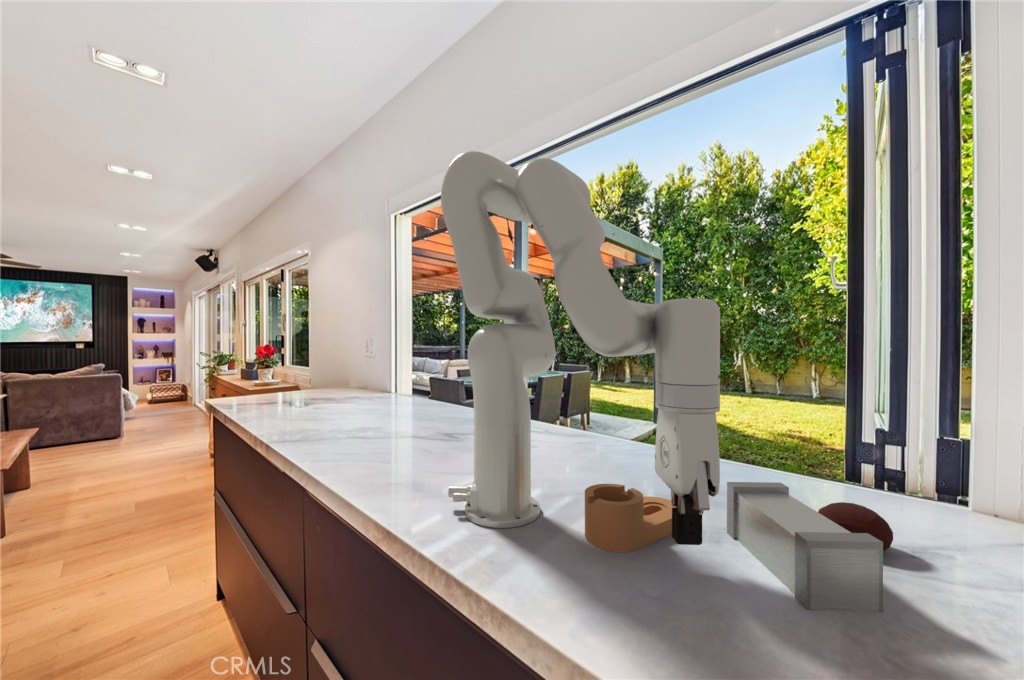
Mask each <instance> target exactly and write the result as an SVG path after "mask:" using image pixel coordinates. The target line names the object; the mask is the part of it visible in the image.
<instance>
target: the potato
mask: <svg viewBox="0 0 1024 680" xmlns="http://www.w3.org/2000/svg"><path fill="white" fill-rule="evenodd" d="M817 512H818V513H820V514H821V515H823V516H825V517H826V518H828V519H830V520H831V521H833V522H835V523H836V524H838V525H839V526H841V527H843V528H844V529H846V530H848V531H849V532H851V533H868V534H870V535H872V536H873V537H875V538H877V539H878V540H880V541H882V542H883V552H886V551H887V550H889V548H891V545H892V543H893V540H894V532H893V530H892V528H891V526H890V525H889V523H888V522H887V520H885V518H883V517H882V516H881V515H880V514H878V513H877V512H876V511H875V510H873V509H870V508H868V507H867V506H864V505H861V504H858V503H853V502H832V503H829V504H827V505H825V506H823V507H821V508H819V509H818V510H817Z"/></svg>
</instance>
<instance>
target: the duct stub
mask: <svg viewBox="0 0 1024 680" xmlns="http://www.w3.org/2000/svg"><path fill="white" fill-rule="evenodd" d="M726 533H727V535H729V537H731V539H733V540H736V541H737V542H738V543H740V544H741V545H742V546H743V547H744V548H745V549H746V550H747V551H748V552H749V553H750V554H751V555H752V556H753V557H754V558H755V559H756V560H757V561H758V562H759V563H761V564H762V565H763V566H764V567H765V568H766V570H768V571H769V572H770V573H771V574H772V575H773V576H774V577H775V578H776V579H778V580H779V582H781V583H782V585H784V586H785V587H786V588H787V589H788V590H789V591H790V592H791V593H792V594H793V595H794V600H796V602H798V603H799V604H800V605H801V606H802V607H803V608H804V609H805V610H806V611H835V612H867V613H870V612H871V613H883V612H884V551H883V542H882V541H880V540H878V539H877V538H875V537H873V536H872V535H870V534H868V533H851V532H849V531H848V530H846V529H844V528H843V527H841V526H839V525H838V524H836V523H835V522H833V521H831V520H830V519H828V518H826V517H825V516H823V515H821V514H820V513H818V511H817V510H815V509H813V508H811V507H810V506H809V505H806V504H805V503H803V502H802V501H800V500H799V499H797V498H795V497H793V496H792V495H790V487H789V486H787V485H785V484H784V483H782V482H768V481H767V482H766V481H765V482H761V481H760V482H757V481H756V482H755V481H753V482H752V481H727V482H726Z"/></svg>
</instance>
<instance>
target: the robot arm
mask: <svg viewBox="0 0 1024 680" xmlns="http://www.w3.org/2000/svg"><path fill="white" fill-rule="evenodd" d="M440 192H441V193H440V204H441V205H440V206H441V211H442V216H443V220H444V223H445V227H446V230H447V233H448V235H449V239H450V241H451V244H452V247H453V249H452V250H453V253H454V259H455V260H454V261H455V265H456V267H457V272H458V277H459V281H460V282H459V283H460V286H461V291H462V295H463V299H464V302H465V305H466V308H467V310H468V311H469V312H470V314H472V315H473V316H475V317H478V318H482V319H488V320H489V319H490V320H502V321H503V323H492V324H491V323H490V324H488V325H484V326H482V327H481V328H479V329H478V330H477V331H476V332H475V333H474V334H473V335H472V337H470V340H469V342H468V347H467V363H468V367H469V372H470V378H471V385H472V395H473V396H472V397H473V454H474V455H473V467H474V468H473V482H472V484H471V483H469V484H468V483H467V485H466V486H464V485H463V486H462V485H449V486H448V492H447V493H448V498H452V502H454V503H455V502H456V503H458V502H459V503H460V502H466V503H465V505H464V515H465V517H466V519H468V520H469V521H470V522H471V523H473V524H475V525H479V526H481V527H486V528H493V529H509V528H518V527H521V526H525V525H528V524H530V523H532V522H534V521H536V520H537V518H538V517H539V516H540V515H541V514H540V513H541V504H540V502H539V501H538V500H537V499H536V498H534V497H532V496H531V495H532V481H531V479H532V473H531V472H532V468H531V466H532V459H531V458H532V456H531V452H532V447H531V446H532V444H531V443H532V442H531V441H532V440H531V439H532V437H531V432H532V431H531V429H532V426H531V423H532V421H531V415H532V414H531V402H530V397H529V392H528V390H527V386H526V384H525V380H524V379H526V378H531V377H532V378H533V377H536V376H540V375H543V374H544V373H546V372H547V371H549V370H550V368H551V367H552V365H553V363H554V361H555V356H556V343H555V342H556V341H555V338H554V334H553V329H552V326H551V325H552V324H551V321H550V318H549V314H548V309H547V305H546V301H545V298H544V294H543V291H542V289H541V287H540V285H539V283H538V282H537V280H536V279H535V278H534V277H533V276H532V274H530V273H528V272H526V271H525V270H522V269H517V268H514V267H512V266H511V265H509V263H508V261H507V258H506V255H505V251H504V247H503V243H502V238H501V235H500V233H499V231H498V229H497V227H496V226H495V223H494V222H493V221H492V219H491V217H490V215H489V213H492V214H495V215H496V216H497V215H498V216H500V217H502V218H506V219H508V220H511V221H515V222H524V223H528V224H529V223H531V224H532V226H533V227H534V229H535V230H536V232H537V234H538V236H539V238H540V240H542V243H543V245H544V247H545V249H546V250H547V252H548V253H549V255H550V258H551V259H552V262H553V274H554V275H553V276H554V277H553V278H554V282H555V289H556V292H557V295H558V297H559V300H560V303H561V305H562V306H563V309H564V311H565V312H566V314H567V316H568V318H569V319H570V321H571V323H572V324H573V327H574V328H575V330H576V332H577V334H578V335H579V337H581V339H582V340H583V342H584V343H585V344H586V345H587V346H588V347H589V348H590V349H591V350H592V351H594V352H595V353H597V354H599V355H601V356H603V357H608V358H615V357H616V358H617V357H618V358H619V357H631V356H638V355H639V356H640V355H647V354H654V355H655V359H654V361H655V365H654V366H655V378H654V379H655V381H654V382H655V405H654V406H655V408H657V416H656V428H655V445H654V447H655V448H654V449H655V450H654V471H655V473H656V475H657V477H658V478H660V479H661V481H662V483H664V484H665V485H666V486H667V488H668V489H670V500H671V503H672V506H673V507H676V508H672V534H671V537H672V539H673V540H674V542H675V543H676V544H677V545H681V546H683V545H684V546H689V545H690V546H700V545H702V544H703V515H704V512H705V511H710V508H711V507H710V498H709V497H716V496H717V495H718V493H719V491H720V481H721V480H720V477H721V475H720V474H721V472H720V471H721V469H720V465H721V464H720V444H719V432H718V423H717V414H716V413H719V412H721V311H720V307H719V305H718V304H717V302H716V301H714V300H713V299H709V298H698V297H697V298H695V297H693V298H692V297H691V298H688V297H687V298H674V299H667V300H664V301H662V302H661V303H648V302H639V301H635V300H630V299H627V298H626V297H625V296H624V294H623V293H622V291H621V290H620V288H619V286H618V284H617V283H616V282H615V280H614V278H613V277H612V275H611V274H610V273H611V272H610V271H609V270H608V267H607V266H606V263H605V261H604V259H603V256H602V252H601V247H602V245H603V244H604V241H606V240H605V239H606V232H605V228H604V227H603V226H602V224H601V222H600V220H598V218H597V216H596V214H595V213H594V211H593V210H592V209H591V201H592V198H591V193H590V188H589V187H588V185H587V183H586V182H585V181H584V179H582V178H581V177H580V176H579V175H577V174H576V173H574V172H573V171H571V170H569V169H568V168H567V167H566V166H564V164H562V163H560V162H558V161H556V160H554V159H551V158H548V157H546V158H545V157H542V158H539V157H538V158H535V159H532V160H530V161H528V162H527V163H525V164H524V165H523V166H522V168H520V170H518V169H517V168H514V167H513V166H511V165H509V164H508V163H506V162H504V161H502V160H500V159H499V158H498V157H495V156H492V155H490V154H488V153H484V152H480V151H474V150H470V151H469V150H468V151H465V152H462V153H460V154H458V155H457V156H455V158H453V160H452V161H451V163H450V164H449V166H448V167H447V169H446V172H445V175H444V177H443V180H442V183H441V190H440ZM488 212H489V213H488Z"/></svg>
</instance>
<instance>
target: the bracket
mask: <svg viewBox="0 0 1024 680" xmlns="http://www.w3.org/2000/svg"><path fill="white" fill-rule="evenodd" d="M625 486H626V485H623V484H617V483H598V484H597V483H596V484H594V485H590V486H588V487H586V489H584V538H585V540H586V541H587V542H588V543H589V544H590V545H592V546H594V547H596V548H598V549H601V550H603V551H609V552H616V553H617V552H618V553H624V552H625V553H628V552H633V551H636V550H639V549H641V548H643V547H646V546H648V545H651V544H652V543H654V542H657V541H659V540H663V538H665V537H669V536H672V508H676V507H673V506H672V503H671V499H667V498H665V497H664V498H663V497H660V496H659V497H658V496H646V495H645V496H644V494H643V493H642V492H641V491H639V490H638V489H636V488H634V487H631V488H628V489H627V490H626V487H625Z"/></svg>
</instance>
